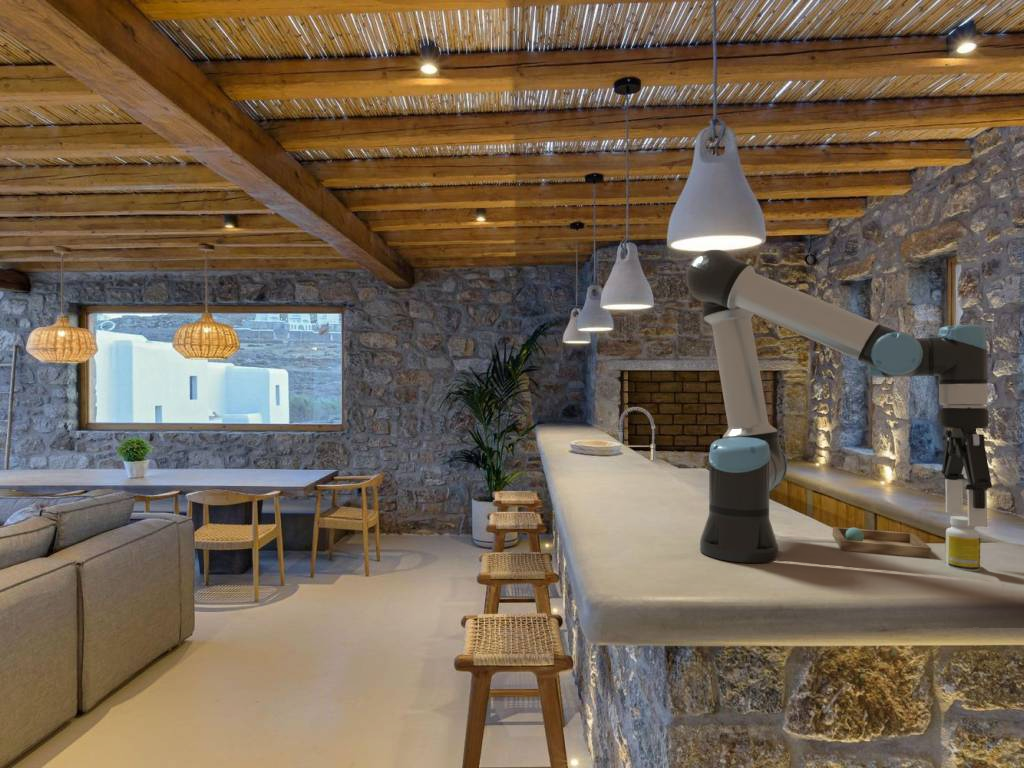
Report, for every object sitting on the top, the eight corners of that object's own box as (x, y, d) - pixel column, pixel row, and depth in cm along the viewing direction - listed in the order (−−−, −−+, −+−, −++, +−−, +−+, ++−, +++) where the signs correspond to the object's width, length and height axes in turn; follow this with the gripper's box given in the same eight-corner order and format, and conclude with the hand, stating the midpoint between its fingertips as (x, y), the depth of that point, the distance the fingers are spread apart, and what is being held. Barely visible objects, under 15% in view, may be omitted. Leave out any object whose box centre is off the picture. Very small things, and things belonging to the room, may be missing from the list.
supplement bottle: (986, 574, 118) (986, 521, 118) (953, 572, 119) (953, 520, 119) (971, 566, 123) (971, 515, 123) (940, 564, 124) (940, 514, 124)
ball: (846, 544, 137) (846, 528, 137) (844, 541, 140) (844, 525, 140) (865, 546, 136) (865, 529, 136) (862, 542, 139) (862, 526, 139)
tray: (841, 552, 132) (841, 540, 132) (832, 538, 146) (832, 527, 146) (930, 560, 127) (930, 548, 127) (913, 544, 140) (913, 533, 140)
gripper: (1013, 408, 108) (1015, 534, 108) (965, 405, 131) (967, 508, 131) (960, 408, 111) (962, 531, 110) (923, 405, 134) (925, 506, 134)
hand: (965, 519), depth 121 cm, fingers open, 13 cm apart
